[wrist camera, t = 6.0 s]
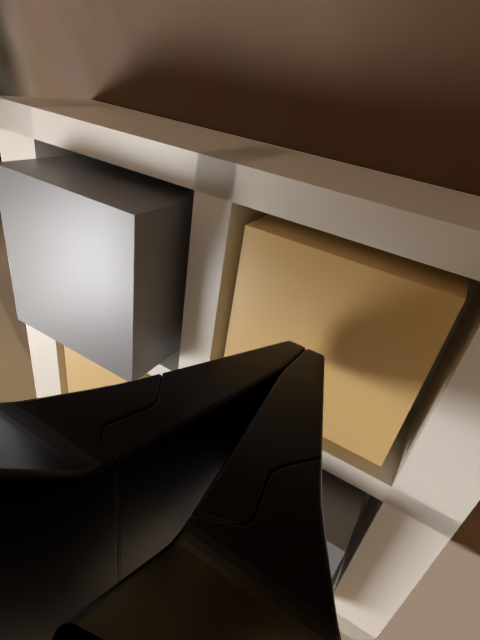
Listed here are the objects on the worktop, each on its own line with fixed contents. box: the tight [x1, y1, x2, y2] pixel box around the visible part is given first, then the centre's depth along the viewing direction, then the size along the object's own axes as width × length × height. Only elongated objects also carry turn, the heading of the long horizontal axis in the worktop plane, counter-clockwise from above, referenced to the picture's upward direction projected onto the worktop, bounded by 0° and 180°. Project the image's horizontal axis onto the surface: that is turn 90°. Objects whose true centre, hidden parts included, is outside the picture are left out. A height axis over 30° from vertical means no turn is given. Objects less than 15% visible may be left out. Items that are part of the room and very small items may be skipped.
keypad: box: [0, 96, 480, 640], centre depth 13 cm, size 15×13×4 cm
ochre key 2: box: [224, 214, 470, 466], centre depth 10 cm, size 5×5×3 cm
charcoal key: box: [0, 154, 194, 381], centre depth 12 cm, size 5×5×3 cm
